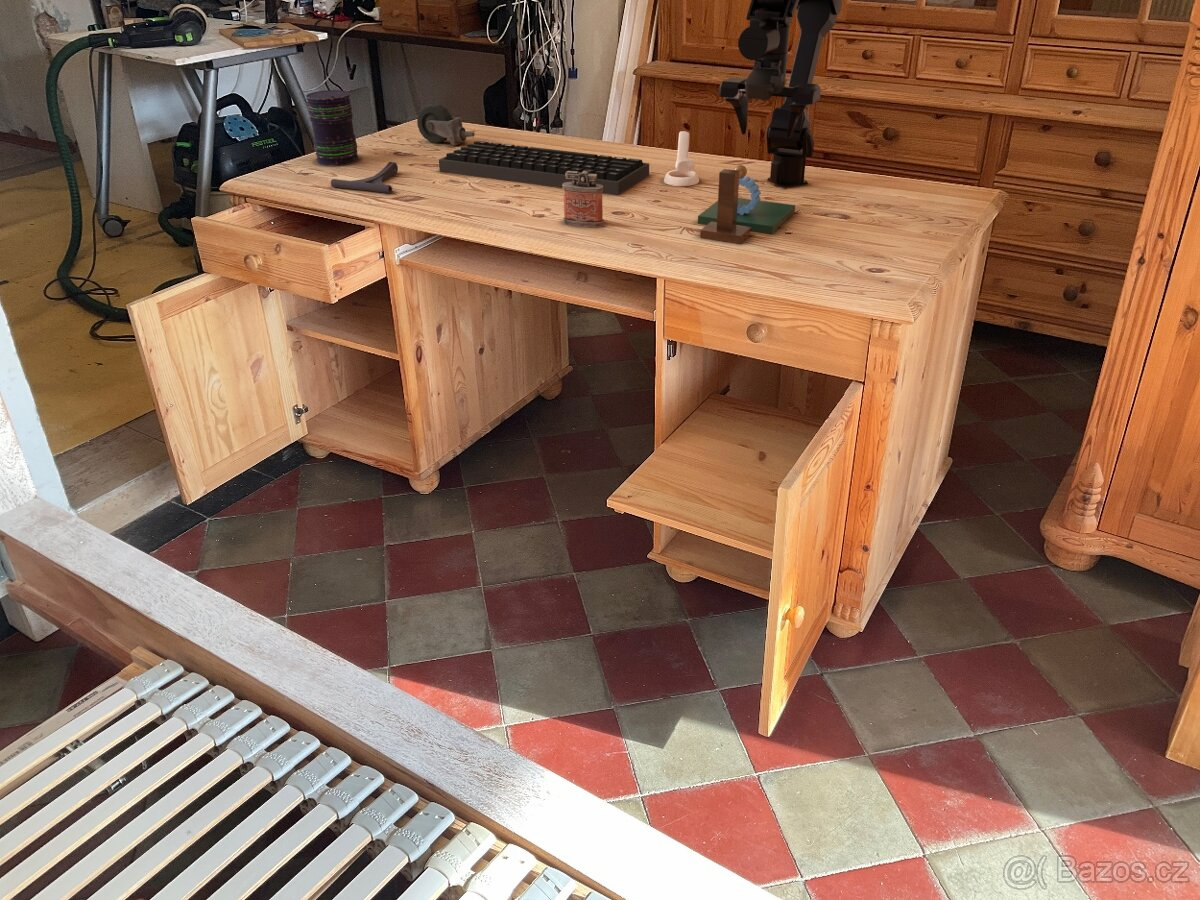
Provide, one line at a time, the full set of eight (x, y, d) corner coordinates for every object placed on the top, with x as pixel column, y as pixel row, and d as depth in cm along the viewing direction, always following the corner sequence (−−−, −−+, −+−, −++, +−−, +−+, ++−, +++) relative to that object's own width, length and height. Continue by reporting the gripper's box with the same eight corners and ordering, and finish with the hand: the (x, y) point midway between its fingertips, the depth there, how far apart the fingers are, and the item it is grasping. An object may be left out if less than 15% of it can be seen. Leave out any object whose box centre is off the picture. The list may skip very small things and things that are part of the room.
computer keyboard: (649, 175, 216) (649, 158, 214) (618, 195, 204) (618, 176, 202) (477, 154, 233) (476, 138, 231) (439, 171, 221) (438, 154, 219)
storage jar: (310, 159, 232) (299, 93, 224) (350, 152, 236) (340, 88, 229) (324, 168, 225) (314, 101, 217) (365, 161, 229) (356, 95, 221)
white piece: (693, 146, 217) (705, 133, 210) (691, 198, 215) (703, 187, 209) (661, 140, 215) (673, 128, 208) (659, 193, 213) (670, 182, 207)
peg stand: (719, 221, 188) (722, 159, 182) (759, 227, 185) (763, 163, 179) (699, 237, 181) (702, 173, 174) (740, 243, 177) (745, 178, 171)
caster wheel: (417, 147, 244) (469, 146, 238) (410, 107, 239) (462, 105, 233) (429, 141, 248) (480, 140, 242) (422, 102, 243) (474, 100, 237)
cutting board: (723, 203, 198) (723, 195, 197) (794, 212, 192) (795, 205, 192) (697, 223, 188) (697, 215, 187) (772, 234, 182) (772, 226, 181)
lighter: (606, 222, 189) (605, 171, 183) (600, 228, 186) (599, 175, 181) (567, 218, 191) (565, 167, 186) (560, 224, 188) (559, 172, 183)
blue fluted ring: (729, 212, 190) (724, 177, 187) (763, 210, 187) (758, 174, 184) (724, 216, 188) (720, 180, 185) (759, 213, 185) (754, 177, 182)
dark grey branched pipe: (423, 175, 219) (422, 163, 217) (388, 194, 207) (386, 181, 205) (368, 170, 223) (367, 158, 222) (331, 188, 211) (329, 175, 210)
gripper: (710, 55, 181) (706, 140, 189) (808, 62, 174) (799, 150, 182) (731, 46, 190) (726, 128, 198) (825, 52, 182) (816, 137, 190)
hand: (765, 136), depth 192 cm, fingers open, 9 cm apart
